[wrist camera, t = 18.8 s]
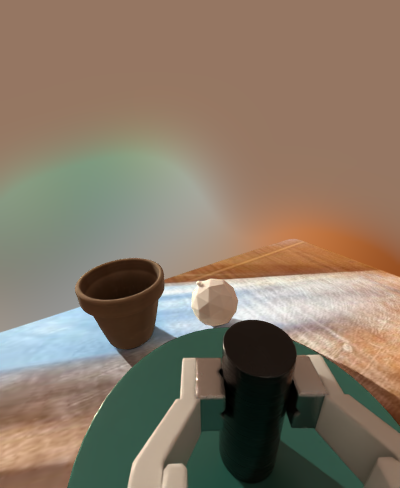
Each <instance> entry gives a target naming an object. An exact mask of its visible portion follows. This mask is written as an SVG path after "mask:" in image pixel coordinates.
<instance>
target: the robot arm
mask: <svg viewBox="0 0 400 488" xmlns="http://www.w3.org/2000/svg"><path fill="white" fill-rule="evenodd" d="M221 373H222V363H221V358H183V360H182V374H181V391H180V399H176V400H175V401H174V403H173V404H172V406H171V407H170V409H169V410H168V412H167V413H166V415H165V416H164V418H163V419H162V420H161V422H160V423H159V425H158V426H157V428H156V429H155V431H154V432H153V434H152V435H151V437H150V438H149V439H148V441H147V442H146V444H145V445H144V447H143V448H142V450H141V451H140V453H139V454H138V456H137V457H136V458H135V460H134V461H133V463H132V467H131V472H130V477H129V482H128V487H127V488H188V475H187V468H186V465H187V463H188V460H189V458H190V456H191V454H192V452H193V450H194V447H195V445H196V443H197V441H198V439H199V437H200V434H201V432H203V431H219V430H224V421H225V417H224V410H225V388H224V379H223V377H222V376H221ZM286 414H287V417H288V419H289V422H290V425H291V428H315V430H316V431H317V433H318V434H319V435H320V436H321V437H322V438H323V439H324V440H325V442H326V443H327V444H328V445H329V446H330V447H331V448H332V449H333V451H334V452H335V453H336V454H337V455H338V456H339V457H340V458H341V460H342V461H343V462H344V463H345V464H346V465H347V466H348V467H349V469H350V470H351V471H352V472H353V473H354V474H355V475H356V476H357V478H358V479H359V480H360V481H361V482H362V483H363V484H364V487H363V488H400V433H398V432H397V431H396V430H394V429H393V428H392V427H391V426H389V425H388V424H387V423H385V422H384V421H383V420H381V419H380V418H379V417H377V416H376V415H375V414H374V413H372V412H371V411H370V410H368V409H367V408H366V407H364V406H363V405H362V404H360V403H359V402H358V401H357V400H355V399H354V398H353V397H351V396H350V395H349V394H344V393H343V391H342V389H341V388H340V386H339V384H338V383H337V381H336V379H335V378H334V376H333V374H332V373H331V371H330V369H329V368H328V366H327V364H326V363H325V361H324V359H323V357H322V356H321V355H297V360H296V364H295V369H294V374H293V379H292V384H291V389H290V394H289V399H288V403H287V408H286Z"/></svg>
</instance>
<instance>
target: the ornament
mask: <svg viewBox="0 0 400 488" xmlns="http://www.w3.org/2000/svg"><path fill="white" fill-rule="evenodd" d="M196 284H197V285H198V287H197V288H196V289H195V290H194V291H193V292H192V305H191V307H192V309H193V311H194V314H195V316H196V317H197V318H198V319H199V320H200V321H201V322H202V323H204V324H205V325H209V326H218V325H222V324H226V323H228V322H229V321H230V319H231V318H232V317H233V315H234V314H235V312H236V310H237V304H238V299H237V297H236V294H235V291H234V288H233V287H232V286H230V285H229V284H228V283H227V282H225V281H224V280H220V279H209V280H206V281H203V282H200V281H197V282H196Z"/></svg>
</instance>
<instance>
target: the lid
mask: <svg viewBox="0 0 400 488" xmlns="http://www.w3.org/2000/svg"><path fill="white" fill-rule="evenodd" d="M297 355H320V354H319V353H317V352H315V351H313V350H311V349H309V348H308V347H306V346H304V345H301V344H299V343H297V342H295V341H292V339H291V338H290V337H289V336H288V335H287V334H286V333H285V332H284V331H283V330H282V329H280V328H279V327H277V326H275V325H273V324H270V323H268V322H264V321H259V320H245V321H241V322H238V323H236V324H234V325H232V326H231V327H225V328H213V329H205V330H201V331H196V332H192V333H189V334H186V335H183V336H180V337H178V338H176V339H174V340H171V341H169V342H167V343H165V344H164V345H162V346H160V347H158V348H157V349H155V350H154V351H152V352H151V353H149V354H148V355H147V356H145V357H144V358H142V359H141V360H140V361H139V362H138V363H137V364H136V365H134V366H133V367H132V368H131V369H130V370H129V371H128V372H127V373H126V374H125V375H124V376H123V377H122V379H121V380H120V381H119V382H118V383H117V384H116V386H115V387H114V388H113V390H112V391H111V392H110V393H109V395H108V396H107V397H106V399H105V400H104V402H103V404H102V405H101V407H100V409H99V410H98V412H97V413H96V415H95V417H94V419H93V421H92V423H91V425H90V427H89V429H88V431H87V433H86V435H85V437H84V439H83V442H82V444H81V447H80V449H79V452H78V455H77V457H76V460H75V463H74V465H73V469H72V472H71V476H70V480H69V483H68V487H67V488H127V487H128V482H129V477H130V472H131V467H132V463H133V461H134V460H135V458H136V457H137V456H138V454H139V453H140V451H141V450H142V448H143V447H144V445H145V444H146V442H147V441H148V439H149V438H150V437H151V435H152V434H153V432H154V431H155V429H156V428H157V426H158V425H159V423H160V422H161V420H162V419H163V418H164V416H165V415H166V413H167V412H168V410H169V409H170V407H171V406H172V404H173V403H174V401H175V400H176V399H180V391H181V374H182V360H183V358H221V363H222V373H221V376H222V377H223V379H224V388H225V410H224V417H225V421H224V430H219V431H203V432H201V434H200V437H199V439H198V441H197V443H196V445H195V447H194V450H193V452H192V454H191V456H190V458H189V460H188V463H187V465H186V468H187V475H188V488H363V487H364V484H363V483H362V482H361V481H360V480H359V479H358V478H357V476H356V475H355V474H354V473H353V472H352V471H351V470H350V469H349V467H348V466H347V465H346V464H345V463H344V462H343V461H342V460H341V458H340V457H339V456H338V455H337V454H336V453H335V452H334V451H333V449H332V448H331V447H330V446H329V445H328V444H327V443H326V442H325V440H324V439H323V438H322V437H321V436H320V435H319V434H318V433H317V431H316V430H315V428H291V425H290V422H289V419H288V417H287V414H286V408H287V403H288V399H289V394H290V389H291V384H292V379H293V374H294V369H295V364H296V360H297ZM321 356H322V355H321ZM322 357H323V356H322ZM323 359H324V361H325V363H326V364H327V366H328V368H329V369H330V371H331V373H332V374H333V376H334V378H335V379H336V381H337V383H338V384H339V386H340V388H341V389H342V391H343V393H344V394H349V395H350V396H351V397H353V398H354V399H355V400H357V401H358V402H359V403H360V404H362V405H363V406H364V407H366V408H367V409H368V410H370V411H371V412H372V413H374V414H375V415H376V416H377V417H379V418H380V419H381V420H383V421H384V422H385V423H387V424H388V425H389V426H391V427H392V428H393V429H394V430H396V431H397V432H398V433H400V426H399V425H398V423H397V422H396V421H395V420H394V419H393V417H392V416H391V415H390V414H389V413H388V411H387V410H386V409H385V408H384V407H383V406H382V405H381V404H380V403H379V402H378V401H377V400H376V399H375V398H374V397H373V396H372V395H371V394H370V393H369V392H368V391H367V390H366V389H365V388H364V387H363V386H362V385H360V384H359V383H358V382H357V381H356V380H355V379H354V378H353V377H351V376H350V375H349V374H347V373H346V372H345V371H344V370H342V369H341V368H340V367H338V366H337V365H336V364H334V363H333V362H331V361H330V360H328V359H326V358H325V357H323Z"/></svg>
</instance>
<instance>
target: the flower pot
mask: <svg viewBox="0 0 400 488" xmlns="http://www.w3.org/2000/svg"><path fill="white" fill-rule="evenodd" d="M163 291H164V273H163V270H162V268H161V266H160V265H159V264H157V263H156V262H153V261H151V260H146V259H140V258H129V259H120V260H115V261H111V262H108V263H105V264H102V265H100V266H97V267H95V268H93V269H91V270H90V271H88V272H87V273H85V274H84V275H83V276H82V277H81V278H80V279H79V280H78V282H77V284H76V287H75V292H76V295H77V297H78V300H79V304H80V306H81V308H82V309H83V310H84V311H85V312H86V313H88V314H90V315H92V316H94V318H95V320H96V321H97V323H98V325H99V327H100V328H101V330H102V331H103V333H104V335H105V336H106V338H107V339H108V340H109V342H110V343H111V344H112V345H113V346H114V347H116V348H119V349H132V348H136V347H138V346H140V345H142V344H144V343H145V342H146V341H147V340H148V339H149V338H150V337H151V335H152V333H153V330H154V326H155V321H156V314H157V307H158V299H159V298H160V297H161V295H162V293H163Z"/></svg>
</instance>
